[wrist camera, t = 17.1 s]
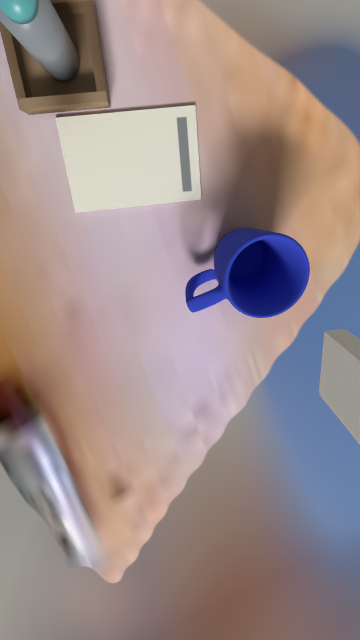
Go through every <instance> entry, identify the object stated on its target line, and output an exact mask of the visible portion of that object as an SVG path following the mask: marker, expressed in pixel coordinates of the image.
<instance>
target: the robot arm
mask: <svg viewBox="0 0 360 640" xmlns="http://www.w3.org/2000/svg"><path fill="white" fill-rule="evenodd" d="M319 395H320V396H321V397H322V398H323V400H324V401H325V402H326V403H327V404H328V406H329V407H330V408H331V409H332V411H333V412H334V413H335V414H336V416H337V417H338V418H339V419H340V421H341V422H342V423H343V424H344V426H345V427H346V428H347V429H348V431H349V432H350V433H351V434H352V435H353V437H354V438H355V439H356V440H357V441H358V443H359V444H360V340H359V339H358V338H356V337H355V336H353V335H352V334H351V333H350V332H348V331H347V330H345V329H341V330H334V331H326V332H325V333H324V345H323V355H322V366H321V377H320V388H319Z"/></svg>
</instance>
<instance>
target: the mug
mask: <svg viewBox="0 0 360 640" xmlns="http://www.w3.org/2000/svg"><path fill="white" fill-rule="evenodd" d="M309 272H310V268H309V261H308V258H307V255H306V253H305V251H304V249H303V248H302V246H301V245H300V244H299V243H298V242H297V241H296V240H294V239H293V238H291V237H289V236H287V235H284V234H280V233H275V232H269V231H263V230H257V229H251V228H241V229H237V230H234V231H232V232H230V233H228V234H227V235H226V236H224V237H223V238H222V240H221V241H220V242H219V244H218V246H217V248H216V250H215V255H214V270H213V269H209V270H206V271H203V272H201V273H199V274H197V275H195V276H193V277H192V278H191V279H190V280H189V281H188V283H187V286H186V303H187V306H188V308H189V310H190V311H191V312H197V311H199V310H202V309H205V308H207V307H209V306H212V305H214V304H216V303H218V302H220V301H222V300H224V299H228V300H229V301H230V302H231V304H232V305H233V306H234V307H235V308H236V309H237V310H238V311H240V312H241V313H243V314H245V315H248V316H251V317H256V318H267V317H272V316H276V315H278V314H281V313H283V312H284V311H286V310H288V309H289V308H290V307H292V306H293V305H294V304H295V303H296V302H297V301H298V300H299V298H300V297H301V296H302V294H303V292H304V290H305V288H306V286H307V283H308V279H309ZM212 279H217V281H218V283H219V284H218V286H217V287H216V288H214V289H212V290H210V291H208V292H205V293H203V294H201V295H198V296H195V297H193V294H194V291H195V289H196V288H197V287H198V286H199V285H201V284H203V283H205V282H207V281H209V280H212Z"/></svg>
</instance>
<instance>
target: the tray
mask: <svg viewBox="0 0 360 640" xmlns="http://www.w3.org/2000/svg"><path fill="white" fill-rule="evenodd" d="M50 1H51V3H52V5H53V7H54V9H55V11H56V12H57V14H58V16H59V18H60V20H61V22H62V24H63V25H64V27H65V29H66V31H67V33H68V35H69V37H70V38H71V40H72V42H73V44H74V46H75V48H76V50H77V51H78V54H79V57H80V70H79V73H78V75H77V76H76V77H75V78H74V79H73V80H72V81H70V82H59V81H57V80H55V79H53V78H52V77H51V76H50V75H49V74H48V73H47V72H46V71H45V69H44V68H43V67H42V66H41V65H40V64H39V63H38V62H37V61H36V60H35V59H34V57H33V56H32V55H31V54H30V53H29V52H28V51H27V50H26V49H25V48H24V47H23V45H22V44H21V43H20V42H19V41H18V40H17V39H16V38H15V37H14V36H13V35H12V33H11V32H10V31H9V30H8V29H7V28H6V27H5V26H4V25H3V24H2V23H1V21H0V32H1V36H2V40H3V44H4V48H5V52H6V56H7V60H8V64H9V68H10V72H11V77H12V81H13V85H14V89H15V93H16V97H17V101H18V105H19V109H20V110H22V111H24V112H25V113H27V114H29V115H32V114H43V113H54V112H65V111H76V110H87V109H99V108H110V101H109V95H108V88H107V81H106V75H105V68H104V61H103V55H102V48H101V42H100V35H99V28H98V22H97V15H96V8H95V3H94V0H50Z"/></svg>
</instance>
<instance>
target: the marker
mask: <svg viewBox="0 0 360 640" xmlns="http://www.w3.org/2000/svg"><path fill="white" fill-rule="evenodd" d="M0 21H1V23H2V24H3V25H4V26H5V27H6V28H7V29H8V30H9V31H10V32H11V33H12V35H13V36H14V37H15V38H16V39H17V40H18V41H19V42H20V43H21V44H22V45H23V47H24V48H25V49H26V50H27V51H28V52H29V53H30V54H31V55H32V56H33V57H34V59H35V60H36V61H37V62H38V63H39V64H40V65H41V66H42V67H43V68H44V69H45V71H46V72H47V73H48V74H49V75H50V76H51V77H52V78H53V79H55V80H57V81H59V82H70V81H72V80H73V79H74V78H75V77H76V76H77V75H78V73H79V70H80V57H79V54H78V51H77V50H76V48H75V46H74V44H73V42H72V40H71V38H70V37H69V35H68V33H67V31H66V29H65V27H64V25H63V24H62V22H61V20H60V18H59V16H58V14H57V12H56V11H55V9H54V7H53V5H52V3H51V1H50V0H0Z"/></svg>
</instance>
